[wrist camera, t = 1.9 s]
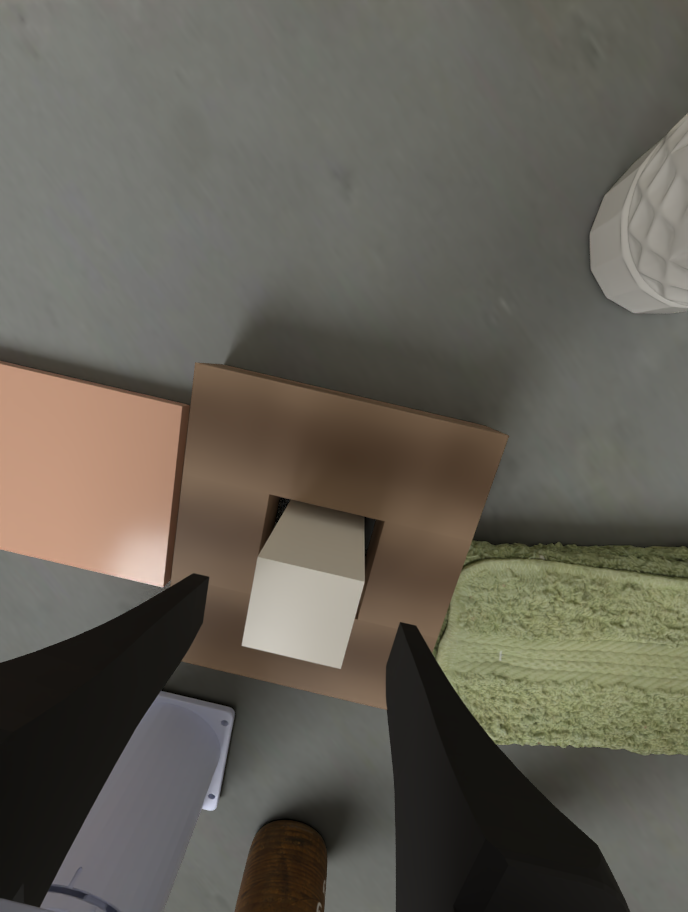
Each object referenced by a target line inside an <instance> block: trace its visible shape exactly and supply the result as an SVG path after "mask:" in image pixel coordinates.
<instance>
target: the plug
mask: <svg viewBox="0 0 688 912" xmlns="http://www.w3.org/2000/svg"><path fill="white" fill-rule="evenodd" d="M364 583H365V541H364V516H360V515H356V514H351V513H347V512H343V511H339V510H334V509H330V508H326V507H322V506H317V505H313V504H309V503H304V502H300V501H296V500H292V499H291V500H290V502H289V504H288V505H287V507H286V509H285V511H284V512H283V514H282V516H281V518H280V519H279V521H278V523H277V524H276V526H275V528H274V530H273V531H272V533H271V535H270V536H269V538H268V540H267V542H266V543H265V545H264V547H263V548H262V550H261V552H260V554H259V555H258V558H257V563H256V569H255V574H254V580H253V585H252V591H251V596H250V602H249V607H248V613H247V618H246V624H245V629H244V635H243V640H242V646H245V647H249V648H253V649H258V650H262V651H266V652H270V653H275V654H279V655H283V656H287V657H292V658H296V659H300V660H304V661H309V662H313V663H317V664H321V665H326V666H330V667H334V668H339V669H341V666H342V663H343V659H344V655H345V652H346V648H347V645H348V641H349V637H350V634H351V630H352V626H353V623H354V619H355V615H356V612H357V608H358V605H359V601H360V597H361V594H362V590H363V586H364Z"/></svg>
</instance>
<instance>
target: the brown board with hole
mask: <svg viewBox="0 0 688 912" xmlns="http://www.w3.org/2000/svg"><path fill="white" fill-rule="evenodd" d="M508 438H509V436H508V435H506V434H504V433H501V432H499V431H496V430H494V429H492V428H489V427H487V426H484V425H480V424H476V423H472V422H467V421H463V420H459V419H454V418H450V417H446V416H442V415H437V414H433V413H429V412H424V411H420V410H416V409H412V408H407V407H403V406H399V405H394V404H390V403H386V402H382V401H377V400H373V399H369V398H364V397H360V396H356V395H352V394H347V393H343V392H339V391H334V390H330V389H326V388H322V387H317V386H313V385H309V384H305V383H300V382H296V381H292V380H287V379H283V378H279V377H275V376H270V375H266V374H262V373H257V372H253V371H249V370H245V369H240V368H236V367H232V366H227V365H223V364H209V363H195V369H194V378H193V387H192V396H191V405H190V414H189V423H188V432H187V441H186V450H185V459H184V468H183V477H182V485H181V494H180V503H179V512H178V521H177V530H176V539H175V548H174V557H173V566H172V575H171V584H170V587H171V586H173V585H174V584H176V583H178V582H179V581H181V580H182V579H184V578H186V577H188V576H189V575H191V574H193V573H196V574H200V575H204V576H208V577H209V584H208V591H207V598H206V605H205V612H204V619H203V624H202V626H201V627H200V629H199V631H198V633H197V635H196V637H195V639H194V641H193V643H192V645H191V646H190V648H189V650H188V652H187V653H186V655H185V656H184V658H183V659H182V662H186V663H190V664H194V665H199V666H203V667H207V668H211V669H216V670H220V671H224V672H228V673H233V674H237V675H241V676H245V677H250V678H254V679H258V680H262V681H267V682H271V683H275V684H279V685H284V686H288V687H292V688H296V689H300V690H305V691H309V692H313V693H317V694H322V695H326V696H330V697H334V698H339V699H343V700H347V701H351V702H356V703H360V704H364V705H368V706H373V707H377V708H381V709H385V710H387V705H386V664H387V661H388V658H389V655H390V652H391V649H392V645H393V642H394V639H395V636H396V633H397V630H398V627H399V623H400V622H403V623H407V624H411V625H416V626H417V628H418V629H419V631H420V633H421V635H422V636H423V638H424V640H425V642H426V643H427V645H428V647H429V649H430V650H431V652H433V650H434V647H435V644H436V641H437V638H438V635H439V633H440V630H441V627H442V624H443V621H444V618H445V616H446V613H447V610H448V607H449V604H450V602H451V599H452V596H453V593H454V590H455V587H456V585H457V582H458V579H459V576H460V573H461V570H462V568H463V565H464V562H465V559H466V556H467V553H468V551H469V548H470V545H471V542H472V539H473V537H474V534H475V531H476V528H477V525H478V522H479V520H480V517H481V514H482V511H483V508H484V505H485V503H486V500H487V497H488V494H489V491H490V488H491V486H492V483H493V480H494V477H495V474H496V471H497V469H498V466H499V463H500V460H501V457H502V455H503V452H504V449H505V446H506V443H507V440H508ZM280 497H283V498H287V499H292V500H296V501H300V502H304V503H309V504H313V505H317V506H322V507H326V508H330V509H334V510H339V511H343V512H347V513H351V514H356V515H360V516H364V517H368V518H373V519H376V521H375V525H374V529H373V532H372V536H371V540H370V543H369V547H368V551H367V554H366V558H365V583H364V586H363V590H362V594H361V597H360V601H359V605H358V608H357V612H356V615H355V619H354V623H353V626H352V630H351V634H350V637H349V641H348V645H347V648H346V652H345V655H344V659H343V663H342V666H341V669H339V668H334V667H330V666H326V665H321V664H317V663H313V662H309V661H304V660H300V659H296V658H292V657H287V656H283V655H279V654H275V653H270V652H266V651H262V650H258V649H253V648H249V647H245V646H242V640H243V635H244V629H245V624H246V618H247V613H248V607H249V602H250V596H251V591H252V585H253V580H254V574H255V569H256V563H257V558H258V555H259V554H260V552H261V550H262V548H263V547H264V545H265V543H266V542H267V540H268V538H269V536H270V535H271V533H272V531H273V530H274V525H275V520H276V515H277V510H278V504H279V499H280Z"/></svg>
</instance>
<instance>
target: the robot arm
mask: <svg viewBox="0 0 688 912" xmlns="http://www.w3.org/2000/svg"><path fill="white" fill-rule="evenodd" d="M208 584H209V577H208V576H204V575H200V574H196V573H193V574H191V575H189V576H188V577H186V578H184V579H182V580H181V581H179V582H178V583H176V584H174V585H173V586H171V587H169V588H168V589H166V590H164V591H163V592H161V593H159V594H158V595H156V596H154V597H153V598H151V599H149V600H147V601H146V602H144V603H142V604H141V605H139V606H137V607H135V608H133V609H131V610H129V611H128V612H126V613H124V614H122V615H120V616H118V617H116V618H114V619H112V620H110V621H108V622H106V623H104V624H102V625H100V626H98V627H95V628H93V629H91V630H89V631H86V632H84V633H82V634H80V635H77V636H75V637H72V638H70V639H67V640H65V641H62V642H59V643H57V644H54V645H51V646H49V647H46V648H44V649H41V650H38V651H36V652H33V653H30V654H27V655H24V656H21V657H18V658H15V659H12V660H8V661H5V662H2V663H0V912H163V911H164V908H165V905H166V903H167V900H168V897H169V895H170V892H171V889H172V887H173V884H174V881H175V879H176V876H177V873H178V871H179V868H180V865H181V863H182V860H183V857H184V855H185V852H186V849H187V846H188V844H189V841H190V838H191V836H192V833H193V830H194V828H195V825H196V822H197V820H198V817H199V814H200V812H201V809H205V810H210V811H212V810H215V809H216V807H217V805H218V802H219V797H220V791H221V786H222V781H223V775H224V770H225V765H226V759H227V754H228V749H229V743H230V738H231V733H232V727H233V722H234V716H235V712H234V710H233V709H232V708H231V707H228V706H223V705H219V704H215V703H211V702H207V701H202V700H198V699H194V698H190V697H185V696H181V695H177V694H173V693H168V692H164V691H161V690H162V689H163V687H164V686H165V684H166V683H167V681H168V680H169V678H170V677H171V675H172V674H173V672H174V671H175V669H176V668H177V667H178V665H179V664H180V662H181V661H182V659H183V658H184V656H185V655H186V653H187V652H188V650H189V648H190V646H191V645H192V643H193V641H194V639H195V637H196V635H197V633H198V631H199V629H200V627H201V626H202V624H203V619H204V612H205V605H206V598H207V591H208ZM386 705H387V715H388V725H389V735H390V744H391V754H392V764H393V774H394V788H395V827H396V912H630V910H629V908H628V905H627V903H626V901H625V899H624V896H623V894H622V892H621V890H620V888H619V886H618V884H617V882H616V880H615V878H614V876H613V874H612V872H611V870H610V868H609V866H608V864H607V862H606V860H605V858H604V856H603V854H602V853H601V851H600V849H599V847H598V845H597V844H596V843H595V842H594V841H592V840H591V839H590V838H589V837H588V836H587V835H586V834H585V833H584V832H582V831H581V830H580V829H579V828H578V827H577V826H576V825H575V824H574V823H573V822H571V821H570V820H569V819H568V818H567V817H566V816H565V815H564V814H563V813H561V812H560V811H559V810H558V809H557V808H556V807H555V806H554V805H553V804H552V803H551V802H550V801H549V800H548V799H547V798H546V797H545V796H544V795H543V794H542V793H541V792H540V791H539V790H538V789H537V788H536V787H535V786H534V785H533V784H532V783H531V782H530V781H529V780H528V779H527V778H526V777H525V776H524V775H523V774H522V773H521V772H520V771H519V770H518V769H517V767H516V766H515V765H514V764H513V763H512V762H511V761H510V760H509V759H508V757H507V756H506V755H505V754H504V753H503V752H502V751H501V750H500V748H499V747H498V746H497V745H496V744H495V743H494V741H493V740H492V739H491V738H490V737H489V735H488V734H487V733H486V732H485V730H484V729H483V728H482V726H481V725H480V724H479V723H478V721H477V720H476V719H475V718H474V716H473V715H472V714H471V712H470V711H469V710H468V708H467V707H466V705H465V704H464V703H463V701H462V700H461V698H460V697H459V695H458V694H457V692H456V691H455V690H454V688H453V687H452V685H451V683H450V682H449V680H448V679H447V677H446V676H445V674H444V672H443V671H442V669H441V667H440V666H439V664H438V662H437V661H436V659H435V657H434V656H433V654H432V652H431V650H430V649H429V647H428V645H427V643H426V642H425V640H424V638H423V636H422V635H421V633H420V631H419V629H418V628H417V626H416V625H411V624H407V623H403V622H400V623H399V627H398V630H397V633H396V636H395V639H394V642H393V645H392V649H391V652H390V655H389V658H388V661H387V664H386Z"/></svg>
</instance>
